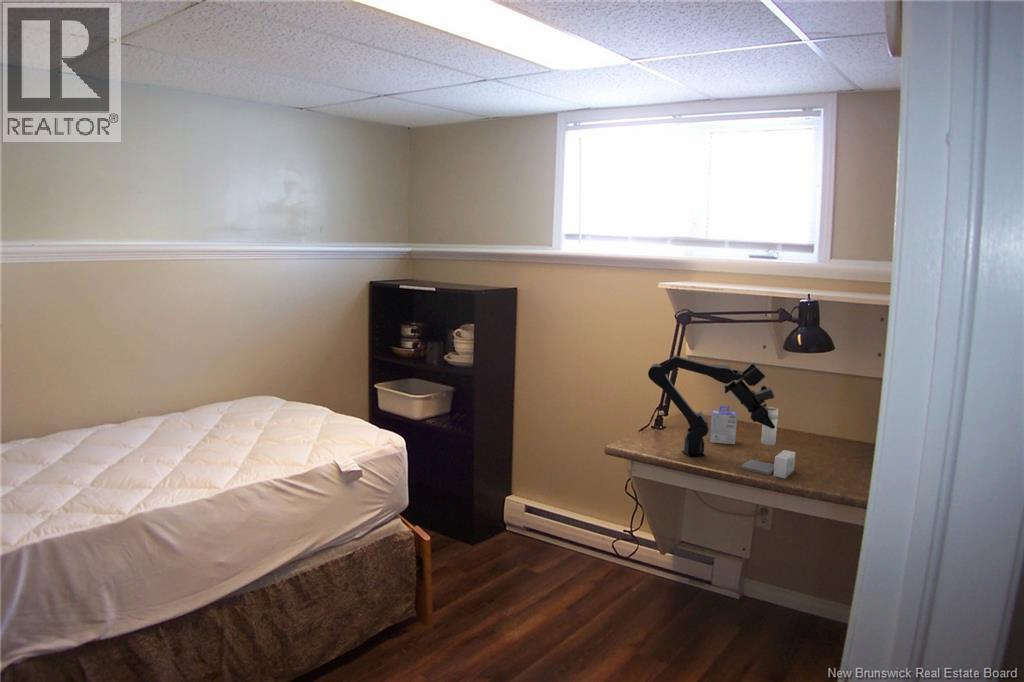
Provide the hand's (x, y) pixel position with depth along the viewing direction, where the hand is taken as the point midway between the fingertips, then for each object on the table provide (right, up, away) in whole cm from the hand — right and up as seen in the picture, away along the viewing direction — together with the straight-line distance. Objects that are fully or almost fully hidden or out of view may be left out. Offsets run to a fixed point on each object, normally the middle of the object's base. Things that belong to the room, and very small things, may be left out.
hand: (773, 426), depth 260 cm
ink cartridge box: (-11, -10, +26) cm, 30 cm away
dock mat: (-7, -14, -6) cm, 17 cm away
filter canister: (-1, -6, +1) cm, 7 cm away
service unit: (0, -15, -11) cm, 19 cm away
